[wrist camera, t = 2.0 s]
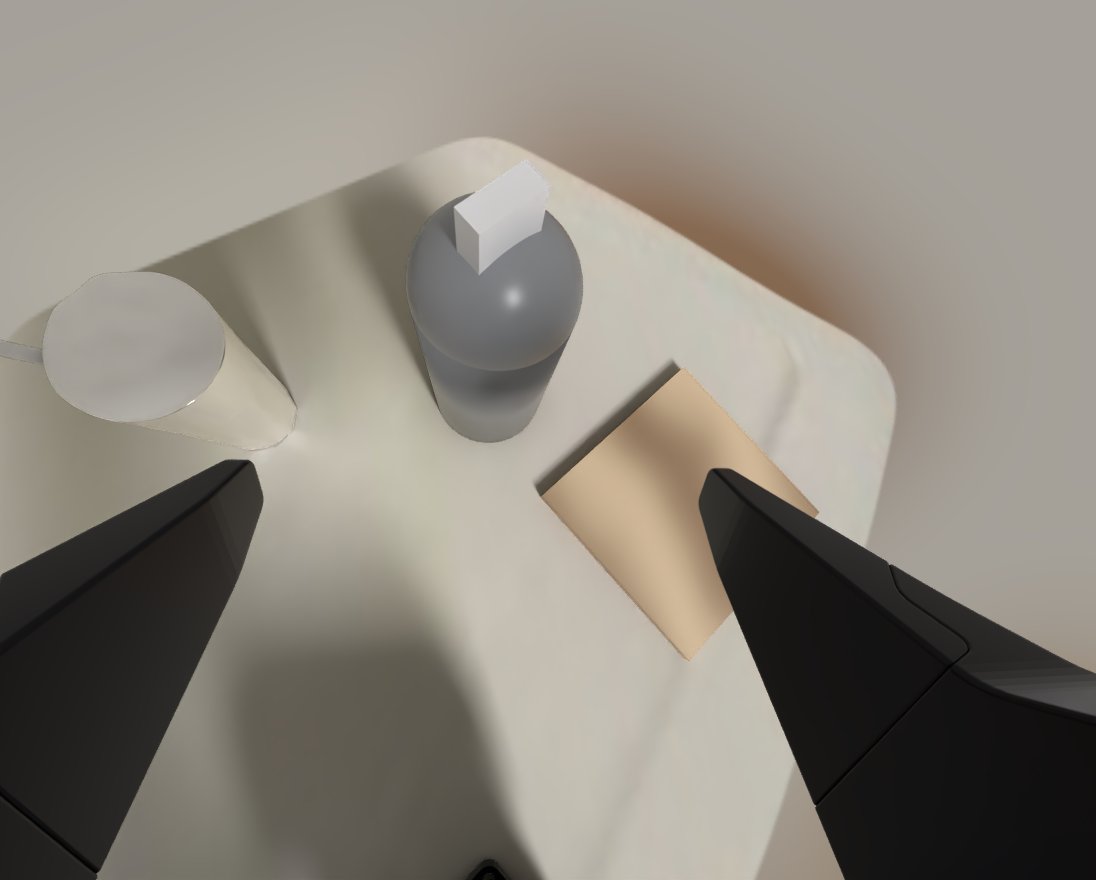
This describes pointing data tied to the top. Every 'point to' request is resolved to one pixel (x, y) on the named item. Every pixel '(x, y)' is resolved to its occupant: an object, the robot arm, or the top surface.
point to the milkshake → (159, 362)
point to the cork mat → (664, 506)
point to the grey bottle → (494, 303)
